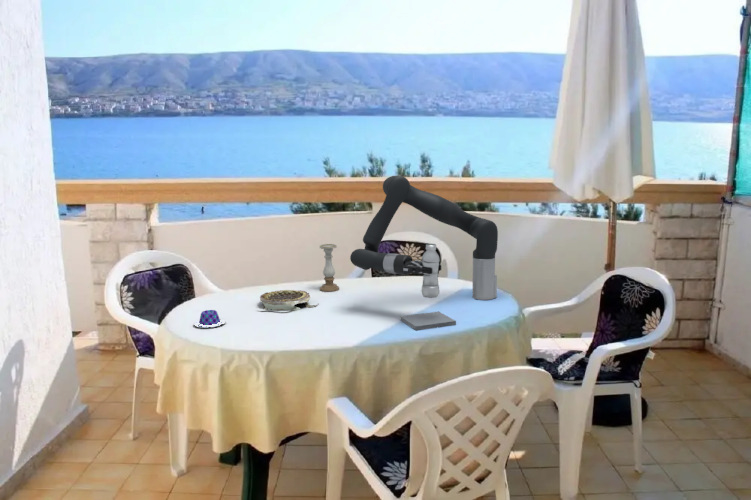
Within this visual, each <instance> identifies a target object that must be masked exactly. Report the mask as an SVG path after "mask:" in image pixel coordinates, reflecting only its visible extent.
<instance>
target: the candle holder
mask: <svg viewBox="0 0 751 500" xmlns="http://www.w3.org/2000/svg"><path fill="white" fill-rule="evenodd" d="M336 248H337V244H334V243H325V244H320V245H319V249H322V250H323V252H324V254H325V255H324V259H325V264H324V265H325V266H324V268H323V271H322V274H323V276H324V278H323V280H324V281H325V283H323V284H322V285H321V286H320V287H319V291H321V292H329V293H331V292H337V291H339V290H340V287H339V285H337V284H336V283H334V281H335V277H334V276H335V274H336V271H335V268H334V265H333V262H332V261H333V259H332V258H333V254H332V252H333V251H334V249H336Z"/></svg>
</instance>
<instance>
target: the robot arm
mask: <svg viewBox="0 0 751 500" xmlns="http://www.w3.org/2000/svg"><path fill="white" fill-rule="evenodd" d="M382 190H383V192H384V195H386V196H385V198H384V200H383V203H382V204H381V207H380V209H379V210H378V211H377V212H376V214H375V216H373V218H372V220H371V221H370V223H369V225H368V227H367V229H366V231H365V232H364V233H365V234H364V235H363V238H362V242H363V243H364V248H357V249H355V250H353V251H352V252H351V253H350V258H349V260H350V262H351V264H352V265H354V266H355V267H358V268H360V269H361V270H364V271H365V270H366V271H367V270H368V271H369V270H370V269H374V270H375V271H376V270H377V271H380V272H386V273H390V274H396V275H403V276H409V275H410V274H414V275H419V274H423V273H428V274H432V273H433V269H432V268H431V267H423V265H422V259H420V260H419V259H418V260H417V259H415V260H413V258H412V257H411V255H407V254H400V253H389V252H388V253H387V252H379V248H380V244H381V242H382V240H383V238H384V237H385V234H386V231H387V229H388V227H389V225H390V224H391V221H392V220H393V219H394V216H395V214H396V213H397V211H398V210H399V208H400V206H401V205H402V203H404V204H407V205H408V206H411V207H412V208H414V209H416V210H418V211H420V212H421V213H423V214H425V215H426V216H428V217H430V218H432V219H434V220H436V221H438V222H440V223H443V224H445V225H449V226H452V227H455V228H458V229H459V230H461V231H462V232H465V233H466V234H468V235H470V236H471V237H473V239H475V240H476V244H475V249H474V250H473V251H472V298H473V299H475V300H480V301H481V300H483V301H488V300H493V299H497V298H498V297H497V296H498V295H497V293H498V292H497V291H498V289H497V286H498V284H497V283H498V276H497V274H496V253H497V251H498V237H499V236H498V235H499V231H498V227H497V223H495V222H494V221H492V220H490V219H487V218H482V217H478V216H476V215H473V214H471V213H468V212H467V211H465V210H463V209H462V208H461V207H460V206H458V205H457V204H455V203H454V202H452V201H450V200H449V199H446V198H445V197H442V196H440V195H438V194H435V193H431V192H429V191H426V190H422V189H419V188H417V187H414V186H413V185H411V183H410V181H409V180H408V178H406V176H403V175H391V176H388V177H387V178H386V179H385V180H384V181H383V183H382ZM440 271H442V264H440V263H439V268H438V272H440Z"/></svg>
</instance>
